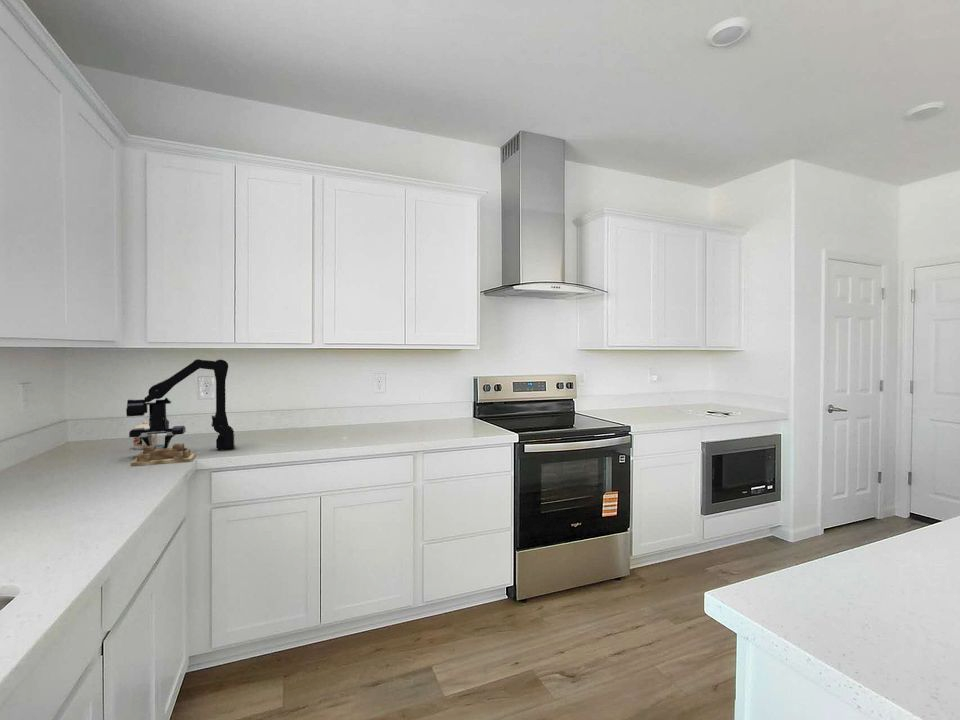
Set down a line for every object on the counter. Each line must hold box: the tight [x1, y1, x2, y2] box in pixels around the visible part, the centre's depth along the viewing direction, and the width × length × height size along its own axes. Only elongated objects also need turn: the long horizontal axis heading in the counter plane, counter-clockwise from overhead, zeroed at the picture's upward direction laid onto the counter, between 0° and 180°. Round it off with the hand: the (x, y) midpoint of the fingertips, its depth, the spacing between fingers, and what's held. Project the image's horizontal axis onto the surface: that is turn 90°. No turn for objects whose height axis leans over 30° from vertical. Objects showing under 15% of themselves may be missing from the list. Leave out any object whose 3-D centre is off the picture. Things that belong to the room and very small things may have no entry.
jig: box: [129, 447, 197, 467], centre depth 185 cm, size 20×9×4 cm, turn 112°
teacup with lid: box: [132, 420, 158, 450], centre depth 208 cm, size 12×9×12 cm
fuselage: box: [142, 442, 185, 460], centre depth 185 cm, size 13×4×5 cm, turn 112°
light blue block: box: [156, 443, 165, 449], centre depth 194 cm, size 4×8×4 cm, turn 22°
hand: (158, 451), depth 194 cm, fingers open, 5 cm apart
